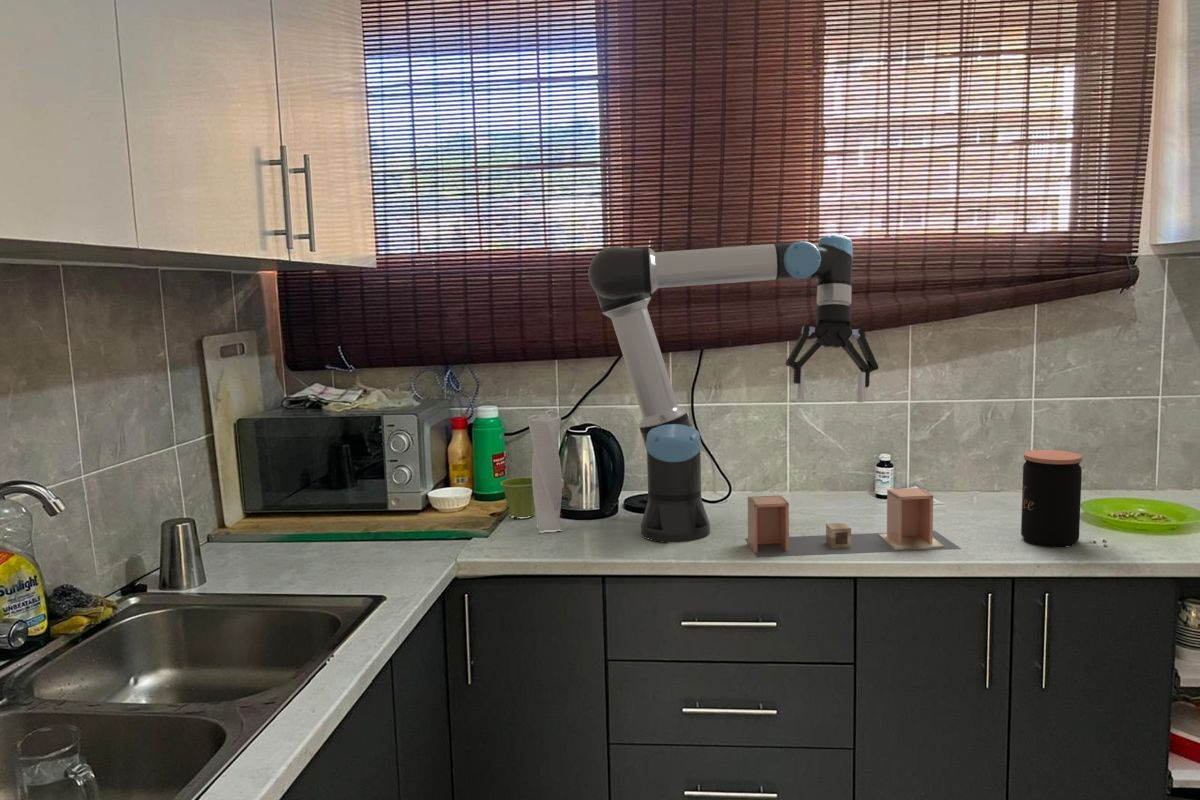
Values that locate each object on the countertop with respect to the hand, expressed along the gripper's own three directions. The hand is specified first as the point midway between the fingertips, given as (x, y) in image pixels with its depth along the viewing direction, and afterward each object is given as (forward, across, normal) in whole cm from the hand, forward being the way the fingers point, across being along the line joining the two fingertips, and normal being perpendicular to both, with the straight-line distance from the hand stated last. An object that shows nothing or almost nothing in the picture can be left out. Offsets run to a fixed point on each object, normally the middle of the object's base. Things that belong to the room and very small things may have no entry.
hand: (830, 400), depth 197 cm
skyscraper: (+32, +61, -10) cm, 70 cm away
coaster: (+29, -14, +12) cm, 35 cm away
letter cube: (+31, +1, +12) cm, 33 cm away
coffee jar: (+28, -42, +15) cm, 52 cm away
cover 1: (+32, +16, +12) cm, 37 cm away
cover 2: (+29, -13, +12) cm, 34 cm away
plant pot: (+30, +68, -23) cm, 78 cm away
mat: (+31, -1, +12) cm, 33 cm away
